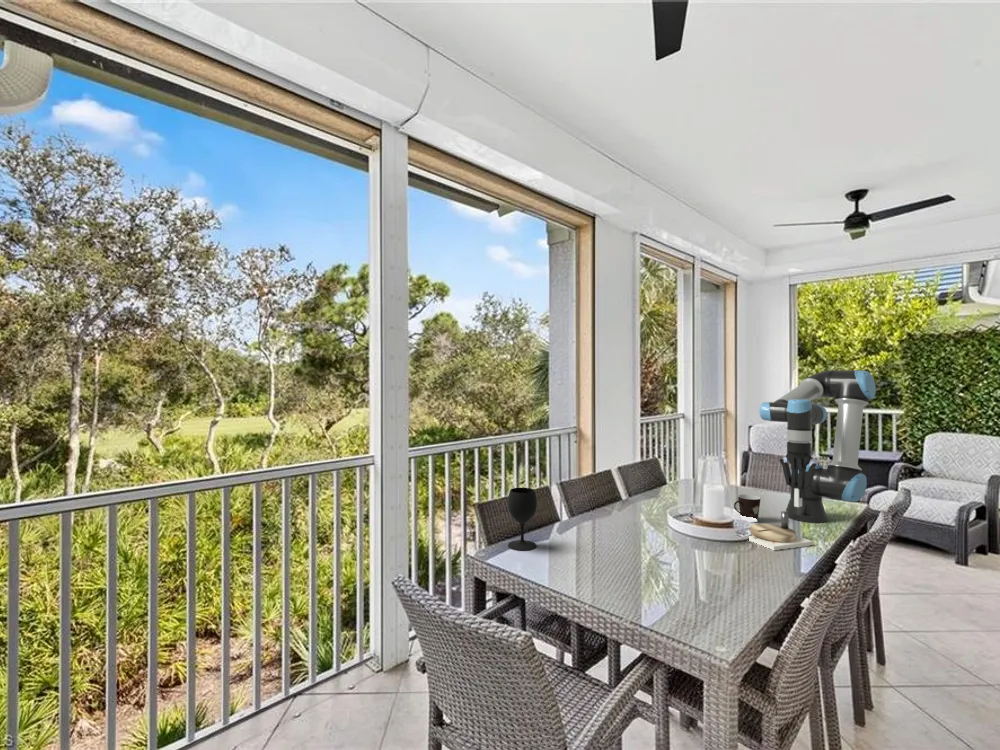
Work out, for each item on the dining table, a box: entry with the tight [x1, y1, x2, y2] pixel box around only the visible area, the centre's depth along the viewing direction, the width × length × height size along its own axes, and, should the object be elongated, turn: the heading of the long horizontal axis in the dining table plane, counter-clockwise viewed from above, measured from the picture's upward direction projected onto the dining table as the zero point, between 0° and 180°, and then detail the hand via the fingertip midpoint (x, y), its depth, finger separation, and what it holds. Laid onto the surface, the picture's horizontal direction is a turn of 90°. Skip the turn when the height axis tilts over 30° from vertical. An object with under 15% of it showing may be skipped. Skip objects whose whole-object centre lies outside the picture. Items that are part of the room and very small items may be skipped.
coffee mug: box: [733, 494, 762, 520], centre depth 211 cm, size 12×9×10 cm
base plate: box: [748, 535, 814, 551], centre depth 186 cm, size 18×18×2 cm
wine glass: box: [507, 487, 538, 552], centre depth 179 cm, size 10×10×20 cm
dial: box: [749, 510, 797, 542], centre depth 186 cm, size 15×15×8 cm
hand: (798, 506), depth 182 cm, fingers closed
